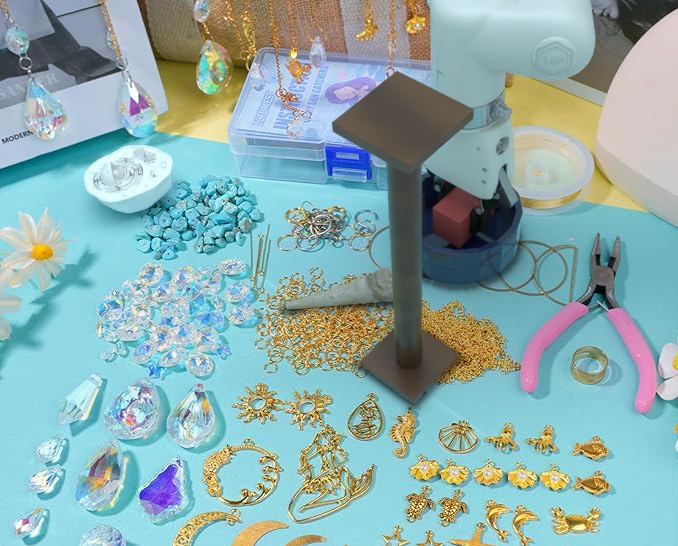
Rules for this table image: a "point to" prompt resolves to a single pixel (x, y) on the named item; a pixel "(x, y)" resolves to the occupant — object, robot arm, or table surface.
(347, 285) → the seashell
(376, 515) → the table surface
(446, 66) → the robot arm
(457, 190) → the dusty pink block
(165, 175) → the cell model
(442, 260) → the pot
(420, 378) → the stand
